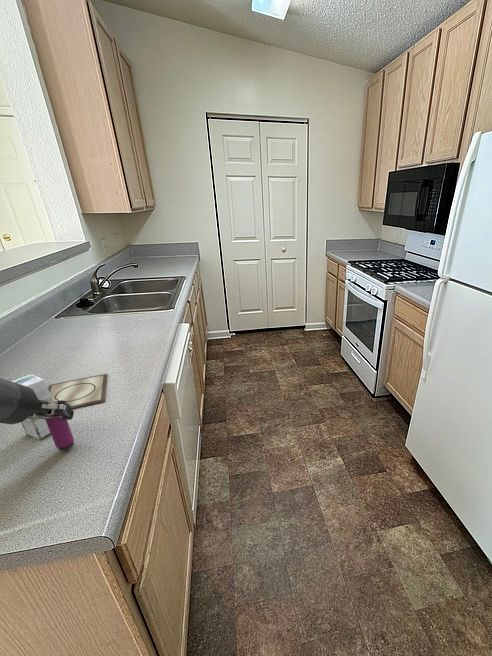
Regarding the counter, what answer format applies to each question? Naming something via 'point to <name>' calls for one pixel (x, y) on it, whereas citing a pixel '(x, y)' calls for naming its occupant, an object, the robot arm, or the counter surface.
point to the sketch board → (80, 391)
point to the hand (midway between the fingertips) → (61, 415)
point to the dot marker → (60, 432)
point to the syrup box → (38, 385)
